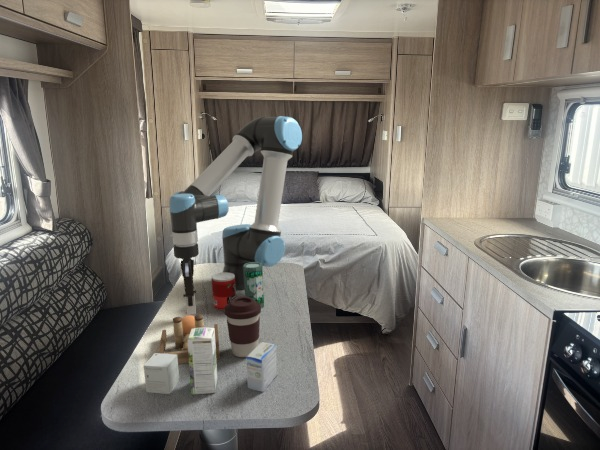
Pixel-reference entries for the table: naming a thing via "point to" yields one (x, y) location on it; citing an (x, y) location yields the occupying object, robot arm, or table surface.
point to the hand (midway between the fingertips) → (191, 313)
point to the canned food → (223, 289)
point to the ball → (188, 324)
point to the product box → (161, 373)
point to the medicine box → (261, 366)
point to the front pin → (185, 342)
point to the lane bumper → (183, 355)
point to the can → (254, 281)
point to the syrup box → (202, 360)
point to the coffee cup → (243, 325)
